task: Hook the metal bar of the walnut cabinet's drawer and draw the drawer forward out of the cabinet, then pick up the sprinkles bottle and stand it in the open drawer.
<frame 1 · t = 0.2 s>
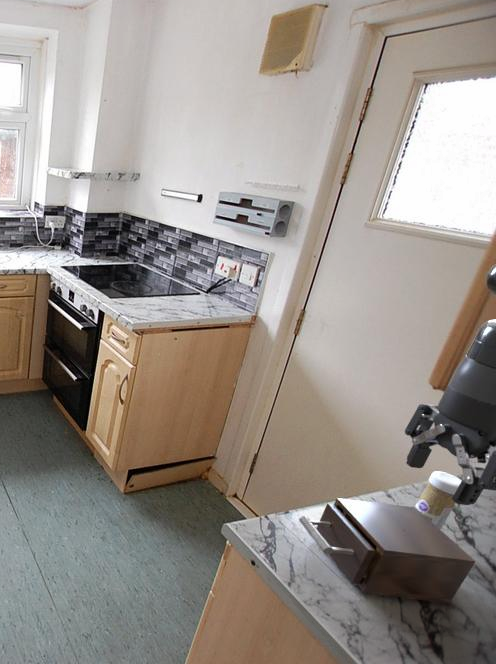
hand: (435, 483, 71), 19 cm above the counter, tool pointing down, fingers open, 8 cm apart
cabinet: (379, 567, 79), on the counter
drawer: (361, 544, 78), point 5 cm above the counter, slide at 0.5 cm
sprinkles bottle: (418, 536, 87), on the counter
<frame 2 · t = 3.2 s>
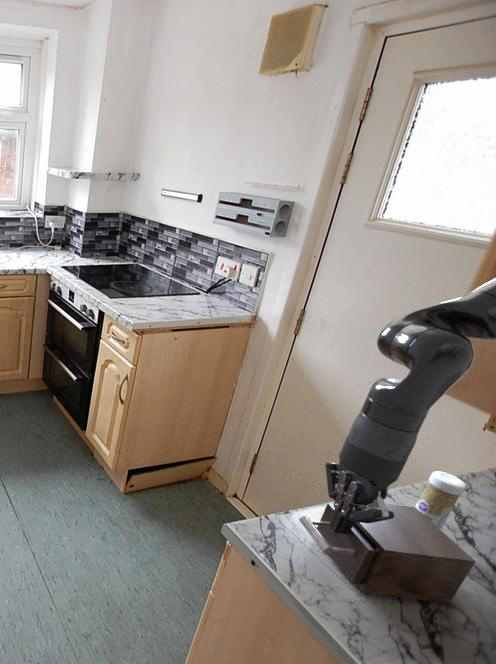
hand: (337, 530, 77), 7 cm above the counter, tool pointing down, fingers closed
nothing on the counter moved.
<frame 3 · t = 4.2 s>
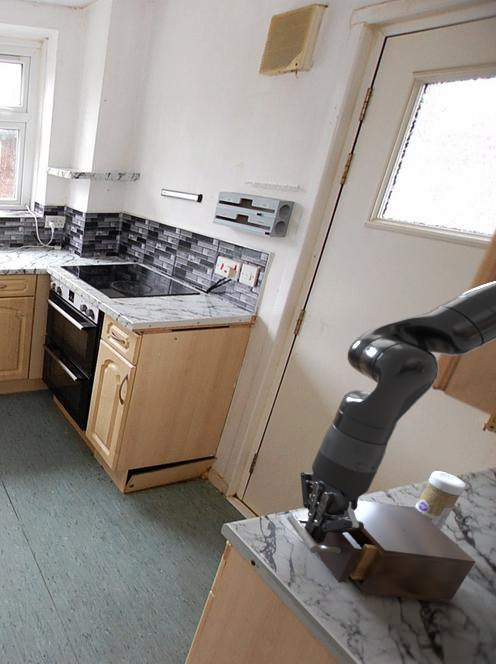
hand: (311, 539, 78), 4 cm above the counter, tool pointing down, fingers closed
drawer: (348, 542, 78), point 5 cm above the counter, slide at 2.6 cm, touching gripper
everything else where it was.
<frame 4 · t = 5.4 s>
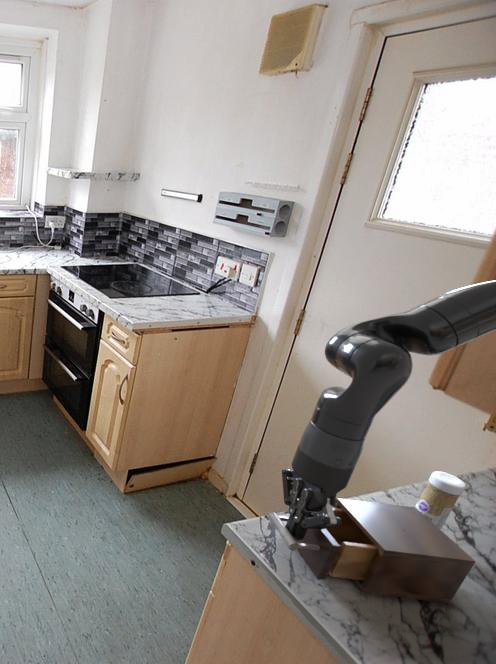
hand: (292, 536, 78), 5 cm above the counter, tool pointing down, fingers closed
drawer: (328, 540, 78), point 5 cm above the counter, slide at 5.9 cm
everything else where it was.
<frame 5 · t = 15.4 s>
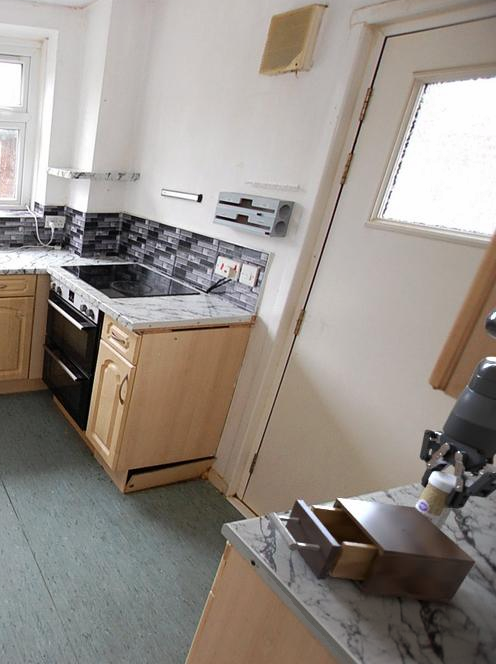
hand: (439, 496, 84), 9 cm above the counter, tool pointing down, fingers closed on sprinkles bottle, 4 cm apart
sprinkles bottle: (418, 536, 87), on the counter, touching gripper
everything else where it was.
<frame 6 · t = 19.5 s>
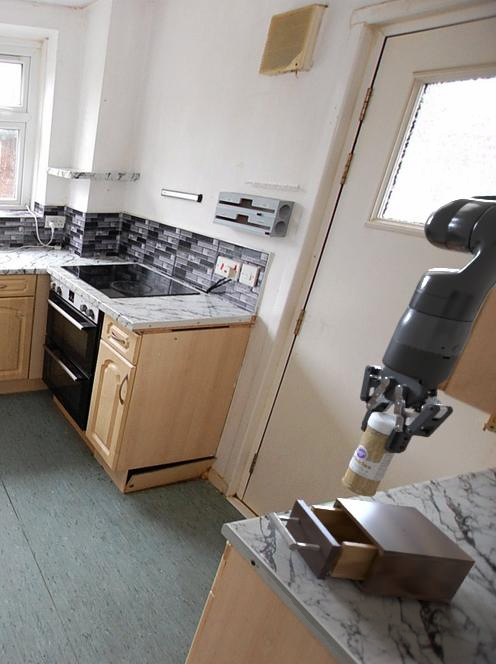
hand: (380, 441, 72), 24 cm above the counter, tool pointing down, fingers closed on sprinkles bottle, 4 cm apart
sprinkles bottle: (357, 489, 75), point 15 cm above the counter, touching gripper
everything else where it was.
when the fingers open (11 cm above the counter, at t = 23.5 s): sprinkles bottle stays where it is, resting on drawer.
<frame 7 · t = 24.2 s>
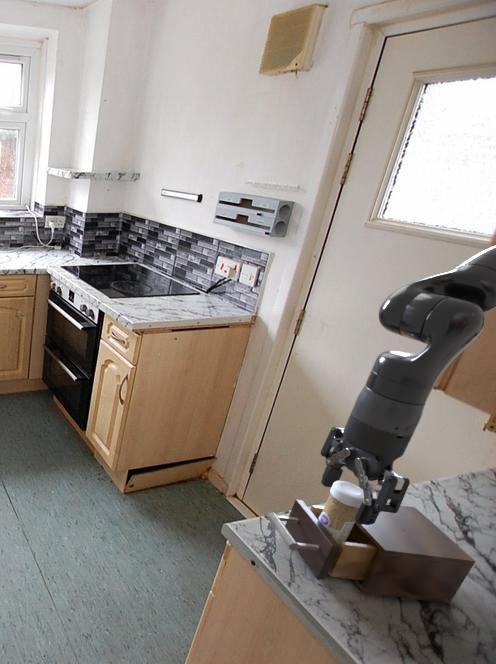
hand: (344, 503, 75), 12 cm above the counter, tool pointing down, fingers open, 8 cm apart
drawer: (328, 540, 78), point 5 cm above the counter, slide at 6.0 cm, touching sprinkles bottle
sprinkles bottle: (321, 552, 79), point 2 cm above the counter, touching drawer
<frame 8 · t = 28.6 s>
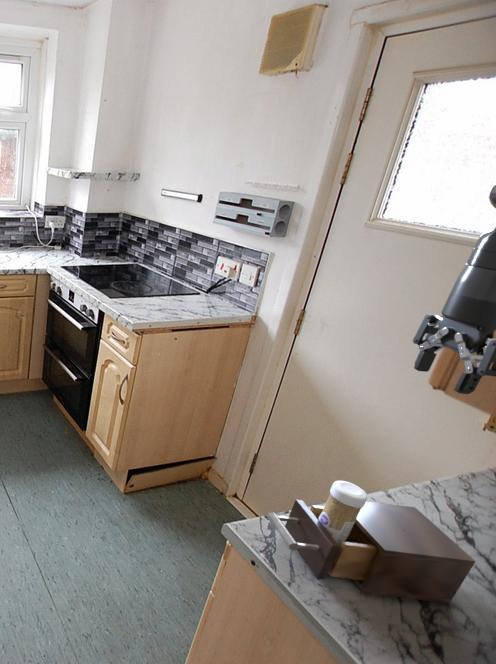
hand: (440, 381, 82), 30 cm above the counter, tool pointing down, fingers open, 8 cm apart
nothing on the counter moved.
at the end: drawer slide at 6.0 cm; sprinkles bottle 0.1 cm from the target spot in the drawer, point 1.8 cm above the cabinet's base; sprinkles bottle tilted 0° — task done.
